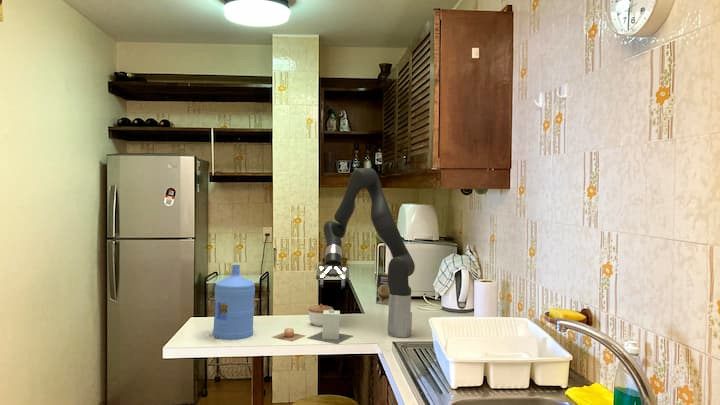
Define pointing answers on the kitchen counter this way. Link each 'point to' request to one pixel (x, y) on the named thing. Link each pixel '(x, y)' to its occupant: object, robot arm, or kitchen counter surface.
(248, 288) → the water jug
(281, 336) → the coaster
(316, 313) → the lidded jar
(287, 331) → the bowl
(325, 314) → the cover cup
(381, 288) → the coffee box
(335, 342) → the mat
